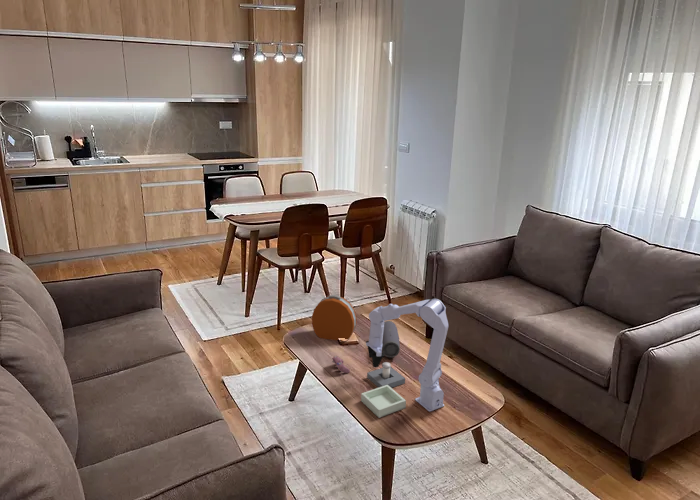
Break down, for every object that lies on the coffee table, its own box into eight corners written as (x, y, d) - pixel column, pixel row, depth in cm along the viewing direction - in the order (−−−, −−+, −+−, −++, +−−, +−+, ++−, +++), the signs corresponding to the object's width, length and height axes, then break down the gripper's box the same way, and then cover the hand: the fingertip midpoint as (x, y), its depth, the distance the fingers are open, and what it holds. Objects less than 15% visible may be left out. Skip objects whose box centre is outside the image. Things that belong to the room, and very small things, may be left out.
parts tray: (405, 407, 201) (406, 400, 200) (378, 417, 195) (379, 410, 194) (387, 391, 212) (387, 384, 211) (361, 400, 206) (361, 393, 205)
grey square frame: (405, 383, 218) (405, 378, 218) (382, 391, 213) (382, 385, 212) (389, 370, 228) (389, 365, 227) (367, 377, 222) (367, 372, 222)
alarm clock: (357, 334, 262) (358, 294, 255) (352, 342, 253) (353, 301, 246) (317, 328, 267) (317, 289, 260) (311, 336, 258) (311, 296, 251)
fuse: (391, 381, 220) (392, 365, 217) (384, 383, 218) (385, 367, 216) (386, 377, 223) (387, 361, 220) (380, 379, 221) (380, 363, 219)
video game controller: (335, 367, 233) (328, 356, 230) (343, 361, 234) (337, 350, 231) (342, 378, 225) (335, 367, 222) (351, 372, 225) (344, 361, 222)
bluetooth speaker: (400, 360, 237) (401, 341, 234) (380, 359, 237) (381, 340, 234) (397, 337, 259) (398, 320, 256) (379, 337, 259) (379, 319, 256)
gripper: (363, 326, 217) (361, 353, 222) (370, 343, 204) (368, 371, 209) (379, 325, 219) (376, 352, 223) (387, 342, 205) (384, 371, 210)
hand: (373, 361), depth 216 cm, fingers open, 7 cm apart
